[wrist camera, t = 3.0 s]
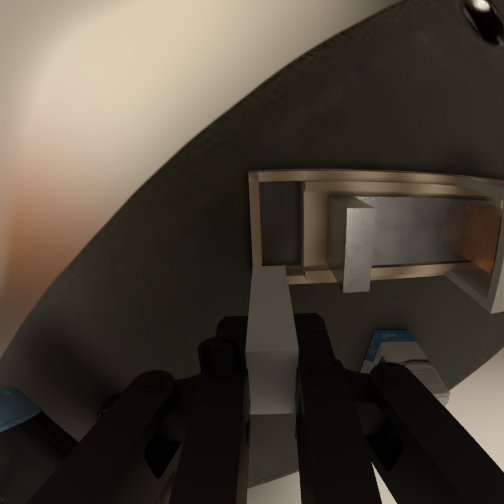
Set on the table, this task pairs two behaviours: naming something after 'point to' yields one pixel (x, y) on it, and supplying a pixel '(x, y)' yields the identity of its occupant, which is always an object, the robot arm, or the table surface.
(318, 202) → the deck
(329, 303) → the table surface
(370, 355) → the ink box
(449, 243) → the sled
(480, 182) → the tunnel
